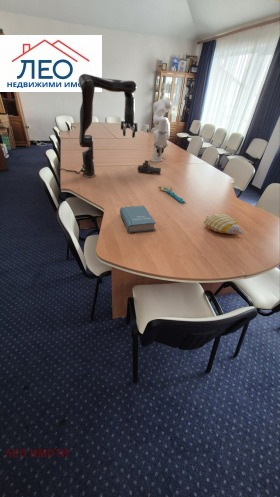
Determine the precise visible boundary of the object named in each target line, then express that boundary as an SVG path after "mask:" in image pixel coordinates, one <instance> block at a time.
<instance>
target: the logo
mask: <svg viewBox="0 0 280 497" xmlns="http://www.w3.org/2000/svg"><path fill="white" fill-rule="evenodd" d="M158 187H159V188H160V190H161V191H162V192H166V193H167V194H168V195H170V196H171V197H172V198H173V199H175V200H176V201H178V202H179V203H180V204H186V201H185V200H184V199H183V198H182V197H179V196H178V195H177V194H175V192H173V191H172V190H171V189H172V187H168V186H167V185H165V186H163V185H159V186H158Z"/></svg>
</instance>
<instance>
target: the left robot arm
mask: <svg viewBox="0 0 280 497" xmlns="http://www.w3.org/2000/svg"><path fill="white" fill-rule="evenodd" d="M78 85H79V87H80V90H81V98H82V100H81V105H80V108H79V138H78V142H79V143H78V144H79V146H80V147H81V148H87V149H85V150H83V151H82V153H81V155H82V168H80V170H79V171H77V170H72V169H71V170H70V169H66V168H62V167H61V168H59V171H62V170H63V171H65V172H72V173H73V172H74V173H76V174H81V173H82V174H83V176H84V177H85V178H94V177H95V175H96V174H95V159H94V138H93V136H92V135H91V134H86V132H87V131H88V129H89V128H90V126H91V125H92V123H93V114H94V112H93V111H94V110H93V109H94V104H93V103H94V95H95V89H96V88H99V89H102V90H105V91H107V92H111V93H124V115H123V116H124V118H123V119H124V120H121V121H120V130H121V131H122V136H123V137H126V134H127V132H126V131H127V129H130V130H131V131H132V132H131V137H132V138H133V139H134V138H135V137H136V132H138V122H135V97H134V93H135V92H136V90H137V83H136V82H135V81H134V80H121V79H112V78H104V77H99V76H96V75H92V74H89V73H88V74H87V73H82V74H81V75H80V76H79V77H78Z"/></svg>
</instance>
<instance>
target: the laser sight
mask: <svg viewBox="0 0 280 497" xmlns="http://www.w3.org/2000/svg"><path fill="white" fill-rule="evenodd" d="M149 162H150V160H144V162H143V163H142V164H141V165H140V164H138V166H137V172H139V173H143V174H149V175H150V174H154V175H161V171H162V168H161V167H155V166H152V165H151V164H149Z"/></svg>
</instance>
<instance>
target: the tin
mask: <svg viewBox="0 0 280 497" xmlns="http://www.w3.org/2000/svg"><path fill="white" fill-rule="evenodd" d="M162 148H163V147H159V148H158V149H159V151H158V155H157V157H163V156H162V155H163V153H162Z"/></svg>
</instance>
